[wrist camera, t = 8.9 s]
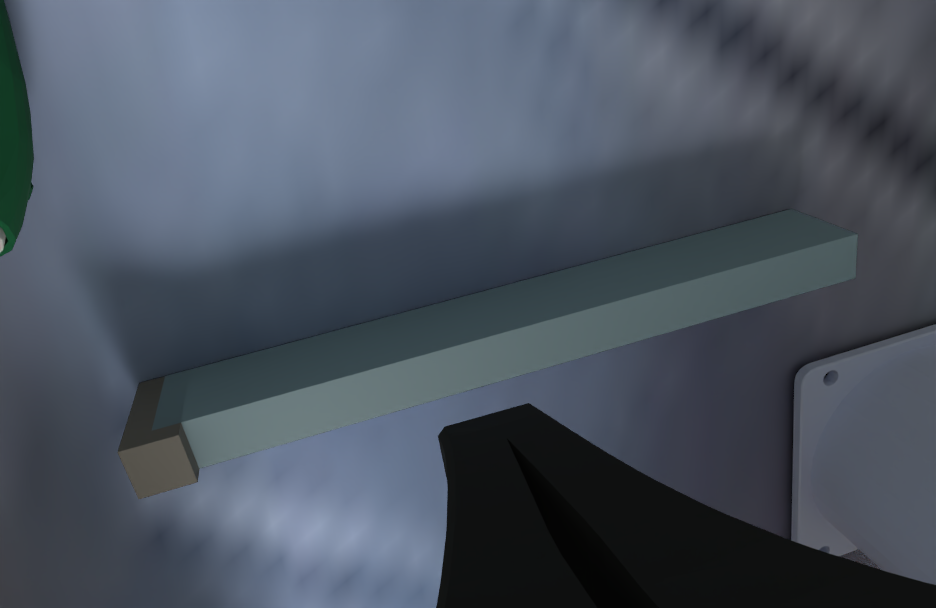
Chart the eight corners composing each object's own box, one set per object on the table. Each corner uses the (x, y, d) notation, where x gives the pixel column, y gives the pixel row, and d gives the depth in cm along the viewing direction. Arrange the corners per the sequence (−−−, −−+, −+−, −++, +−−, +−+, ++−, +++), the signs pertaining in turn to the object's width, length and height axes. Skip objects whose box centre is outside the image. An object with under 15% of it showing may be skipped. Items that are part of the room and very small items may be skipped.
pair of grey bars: (799, -289, 16) (912, -349, 13) (791, 248, 21) (869, 284, 18) (-90, -166, 13) (-182, -213, 10) (156, 425, 18) (138, 499, 15)
